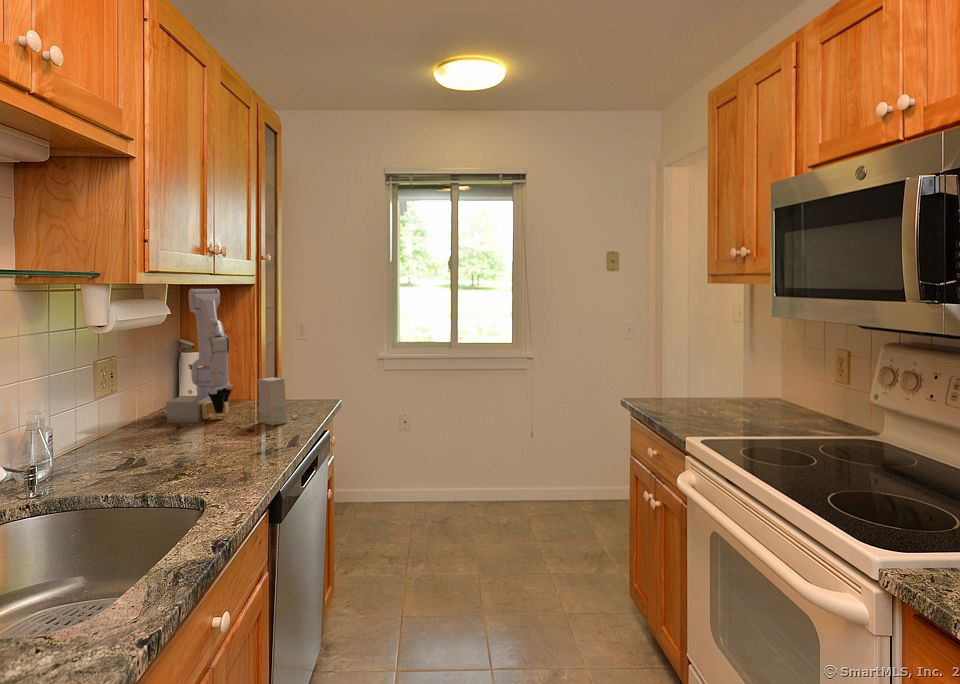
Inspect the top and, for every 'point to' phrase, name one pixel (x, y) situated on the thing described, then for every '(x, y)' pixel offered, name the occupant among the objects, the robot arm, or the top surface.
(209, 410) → the end cover
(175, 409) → the block
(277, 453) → the top surface
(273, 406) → the skincare box
